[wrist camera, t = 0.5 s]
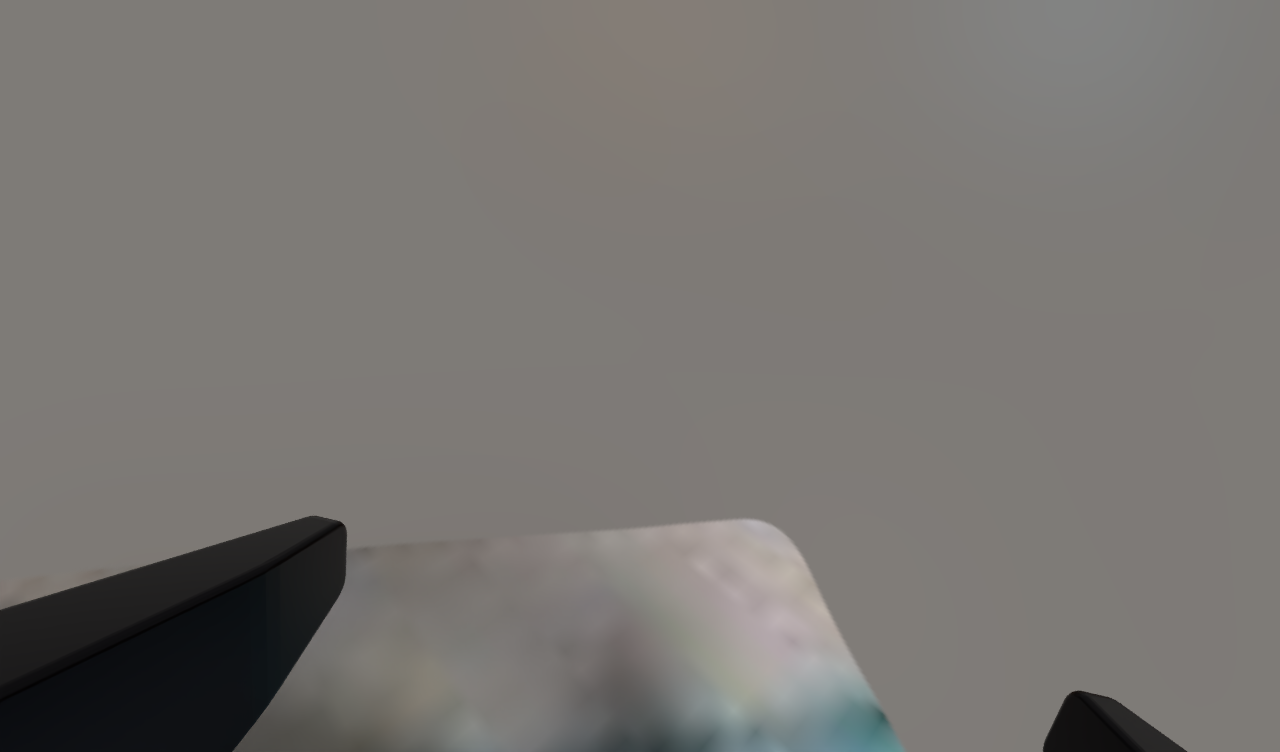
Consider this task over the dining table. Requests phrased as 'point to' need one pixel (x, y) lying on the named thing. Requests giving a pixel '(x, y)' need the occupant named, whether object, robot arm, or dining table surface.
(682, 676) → the dining table surface
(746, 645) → the dining table surface
